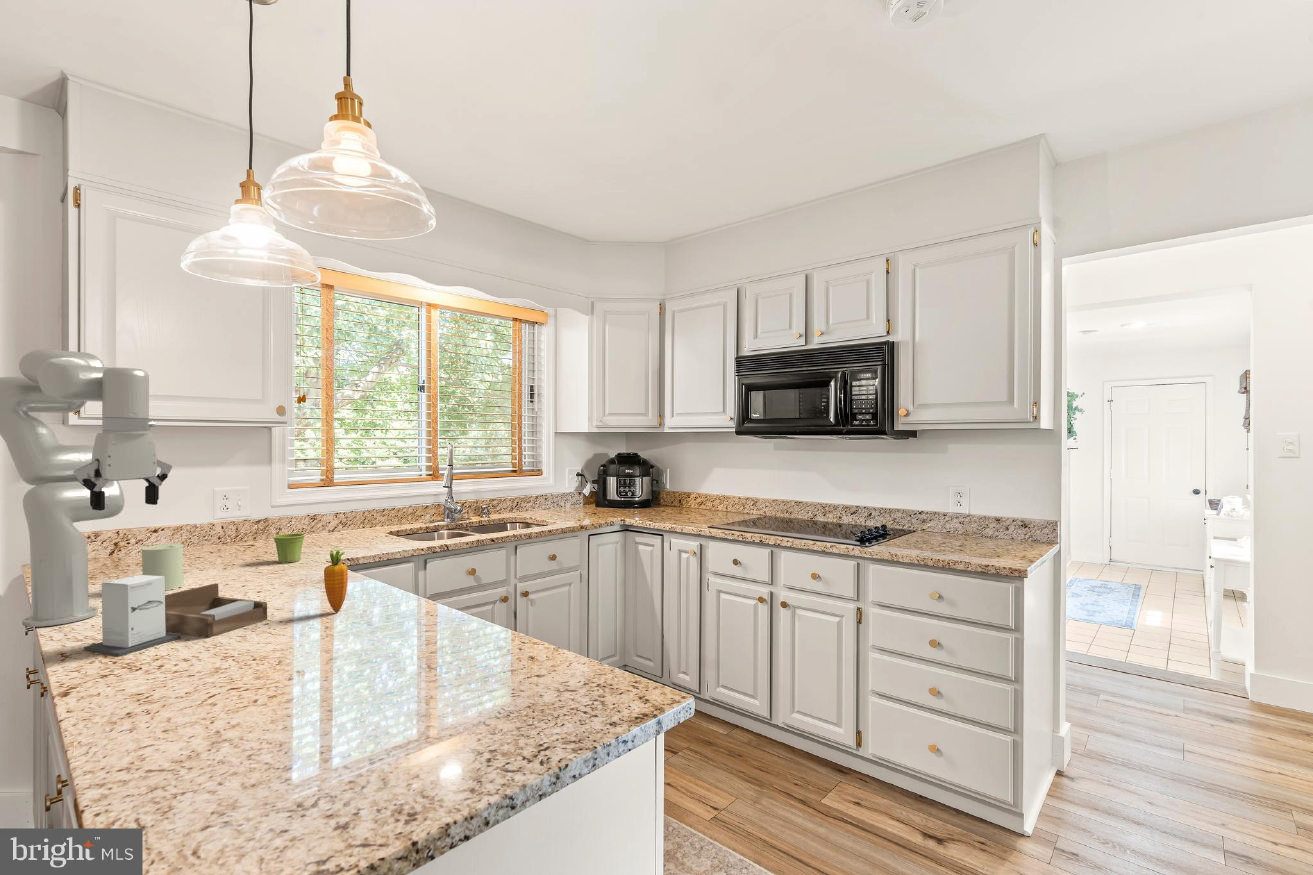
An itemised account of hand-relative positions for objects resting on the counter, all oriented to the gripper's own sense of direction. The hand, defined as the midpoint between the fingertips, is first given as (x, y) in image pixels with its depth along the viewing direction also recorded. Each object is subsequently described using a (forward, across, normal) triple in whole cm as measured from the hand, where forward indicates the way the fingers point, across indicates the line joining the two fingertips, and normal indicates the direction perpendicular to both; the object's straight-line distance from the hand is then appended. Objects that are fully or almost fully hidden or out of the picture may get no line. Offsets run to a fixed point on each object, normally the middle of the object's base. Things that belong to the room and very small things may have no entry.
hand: (125, 507), depth 132 cm
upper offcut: (+24, -10, +17) cm, 31 cm away
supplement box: (+26, +4, +10) cm, 28 cm away
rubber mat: (+27, +4, +10) cm, 29 cm away
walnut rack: (+26, -10, +12) cm, 31 cm away
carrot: (+26, -26, +31) cm, 48 cm away
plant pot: (+29, -65, -34) cm, 79 cm away
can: (+29, -28, -36) cm, 54 cm away
